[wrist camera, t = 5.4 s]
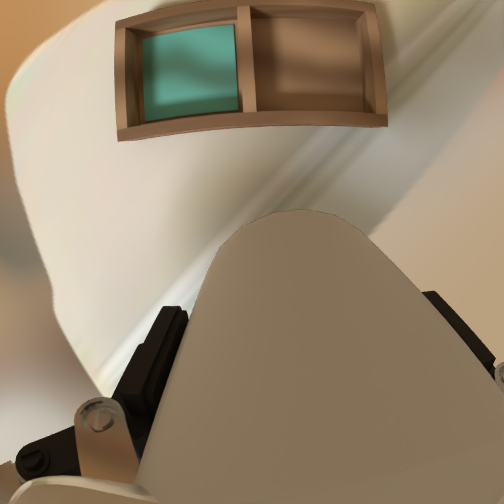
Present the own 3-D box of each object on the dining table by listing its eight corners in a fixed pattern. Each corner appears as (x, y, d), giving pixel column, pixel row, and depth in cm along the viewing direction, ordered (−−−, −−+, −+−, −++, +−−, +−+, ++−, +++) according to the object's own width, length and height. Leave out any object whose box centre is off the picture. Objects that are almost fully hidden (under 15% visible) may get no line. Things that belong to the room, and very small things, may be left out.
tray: (371, 127, 24) (387, 126, 21) (136, 140, 25) (117, 141, 22) (360, 16, 20) (373, 1, 16) (132, 31, 21) (115, 18, 17)
